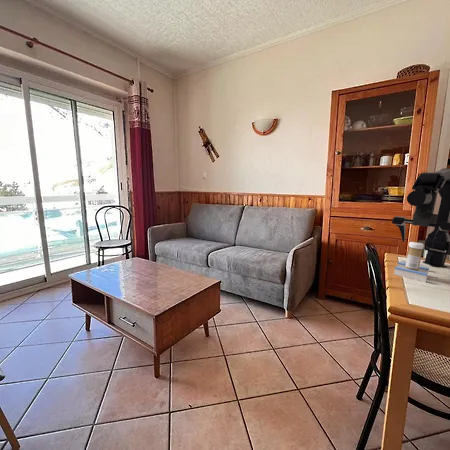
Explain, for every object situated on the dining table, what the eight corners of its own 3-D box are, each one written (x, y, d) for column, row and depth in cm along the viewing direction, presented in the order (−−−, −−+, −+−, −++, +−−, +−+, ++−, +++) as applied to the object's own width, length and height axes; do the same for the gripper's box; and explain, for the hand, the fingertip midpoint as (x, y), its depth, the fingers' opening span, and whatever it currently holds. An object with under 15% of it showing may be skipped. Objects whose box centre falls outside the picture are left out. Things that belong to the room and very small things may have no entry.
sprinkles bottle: (419, 275, 96) (426, 243, 94) (414, 277, 94) (421, 244, 91) (406, 272, 100) (412, 240, 97) (401, 273, 97) (407, 242, 95)
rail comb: (400, 264, 110) (401, 257, 109) (428, 270, 103) (430, 263, 102) (393, 274, 96) (394, 267, 96) (425, 282, 90) (427, 274, 89)
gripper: (392, 204, 93) (386, 242, 96) (459, 209, 80) (449, 253, 83) (397, 202, 101) (391, 238, 104) (458, 207, 88) (449, 248, 91)
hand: (417, 244), depth 95 cm, fingers open, 9 cm apart
